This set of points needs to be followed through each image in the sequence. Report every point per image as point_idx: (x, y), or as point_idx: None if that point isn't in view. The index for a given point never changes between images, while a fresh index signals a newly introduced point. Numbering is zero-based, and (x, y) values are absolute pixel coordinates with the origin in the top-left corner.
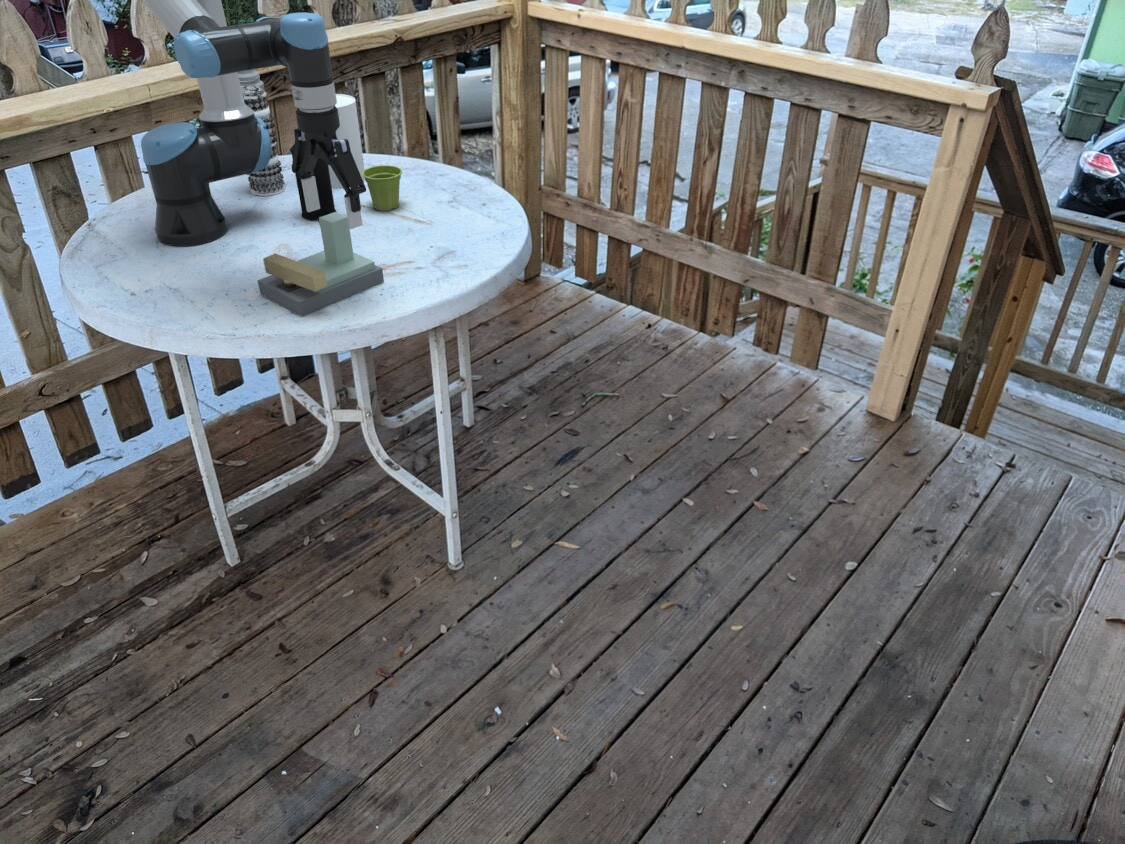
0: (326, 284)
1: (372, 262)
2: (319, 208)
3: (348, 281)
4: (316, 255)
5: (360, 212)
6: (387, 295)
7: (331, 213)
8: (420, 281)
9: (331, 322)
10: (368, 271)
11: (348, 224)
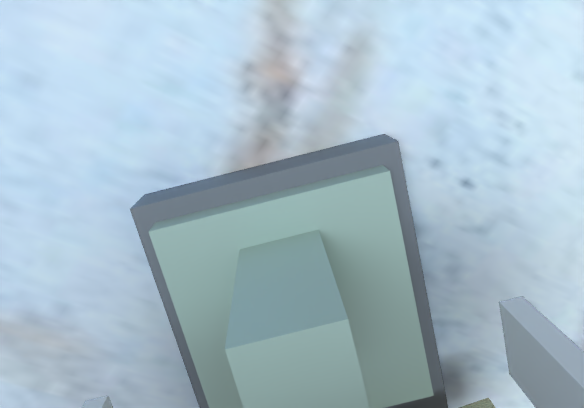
0: (491, 402)
1: (391, 180)
2: (108, 401)
3: (422, 289)
4: (201, 334)
5: (570, 342)
6: (483, 168)
7: (236, 376)
8: (465, 15)
9: None
10: None
11: (521, 388)
